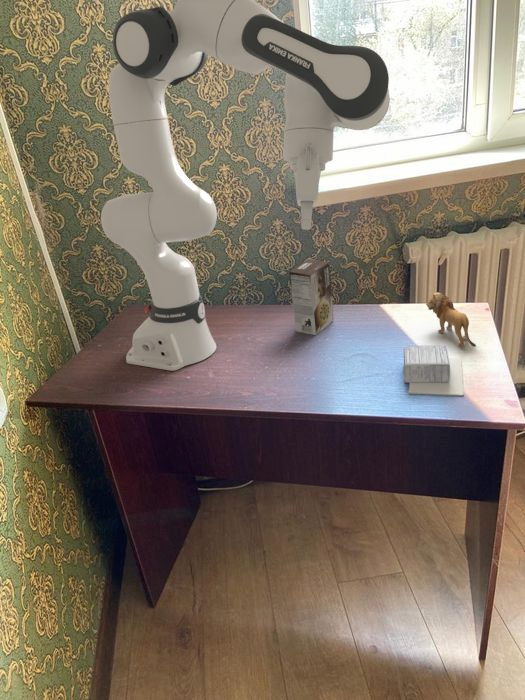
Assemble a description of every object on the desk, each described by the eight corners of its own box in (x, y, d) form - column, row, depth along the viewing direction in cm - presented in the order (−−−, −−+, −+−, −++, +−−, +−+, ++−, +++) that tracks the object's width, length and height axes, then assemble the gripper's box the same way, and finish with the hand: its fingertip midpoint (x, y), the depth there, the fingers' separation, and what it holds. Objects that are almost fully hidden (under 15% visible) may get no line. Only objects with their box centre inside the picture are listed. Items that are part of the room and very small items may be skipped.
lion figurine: (422, 328, 128) (423, 293, 124) (440, 322, 130) (441, 287, 126) (466, 352, 116) (468, 314, 112) (485, 345, 118) (488, 307, 113)
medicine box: (404, 383, 108) (449, 383, 106) (404, 363, 106) (450, 364, 104) (403, 363, 114) (446, 363, 112) (403, 344, 112) (447, 344, 110)
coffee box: (313, 316, 141) (308, 258, 134) (334, 320, 138) (330, 261, 130) (294, 331, 135) (287, 271, 128) (316, 336, 132) (311, 274, 124)
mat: (408, 393, 105) (408, 392, 105) (412, 358, 117) (412, 356, 116) (463, 396, 102) (463, 394, 102) (460, 359, 114) (461, 358, 113)
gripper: (328, 140, 85) (325, 229, 88) (323, 158, 105) (321, 230, 108) (288, 140, 86) (287, 228, 89) (291, 158, 106) (290, 230, 109)
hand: (306, 229), depth 99 cm, fingers closed
